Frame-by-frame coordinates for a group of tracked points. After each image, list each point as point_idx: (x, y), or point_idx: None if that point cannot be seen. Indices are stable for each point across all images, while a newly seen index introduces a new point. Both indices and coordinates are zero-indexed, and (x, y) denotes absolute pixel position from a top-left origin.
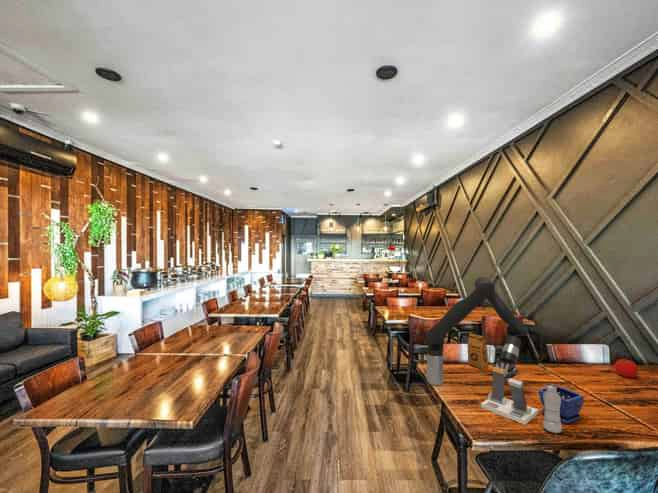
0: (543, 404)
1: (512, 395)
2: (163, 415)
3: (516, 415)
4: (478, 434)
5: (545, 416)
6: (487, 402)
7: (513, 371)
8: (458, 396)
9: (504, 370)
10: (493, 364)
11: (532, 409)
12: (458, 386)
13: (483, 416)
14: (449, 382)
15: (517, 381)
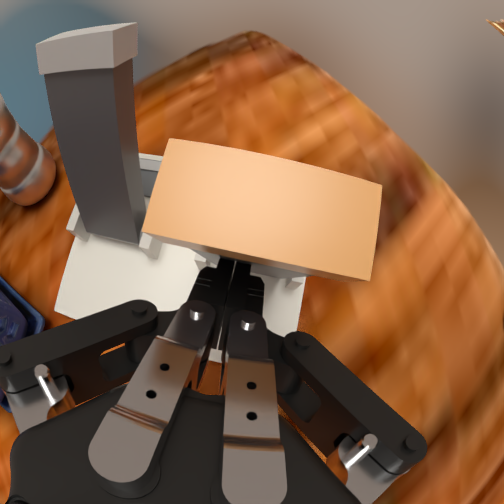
0: (16, 308)
1: (134, 146)
2: (499, 27)
3: (141, 159)
4: (252, 42)
5: (31, 139)
6: None
7: (50, 353)
8: (428, 247)
9: (160, 173)
10: (418, 440)
11: (74, 291)
12: (464, 365)
13: (274, 126)
14: (495, 373)
15: (67, 34)
